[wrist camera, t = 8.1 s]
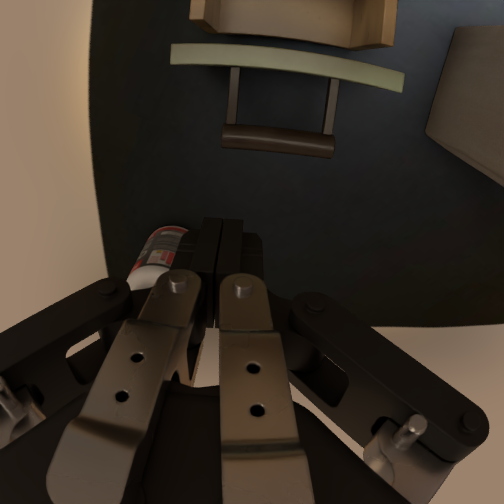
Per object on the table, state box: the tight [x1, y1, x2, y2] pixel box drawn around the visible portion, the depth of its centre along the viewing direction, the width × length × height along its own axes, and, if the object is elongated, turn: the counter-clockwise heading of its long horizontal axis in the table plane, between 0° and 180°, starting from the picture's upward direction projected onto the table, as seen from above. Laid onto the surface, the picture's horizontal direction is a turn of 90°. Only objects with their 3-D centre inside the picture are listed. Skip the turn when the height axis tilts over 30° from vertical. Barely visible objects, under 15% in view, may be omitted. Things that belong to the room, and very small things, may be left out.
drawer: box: [170, 0, 405, 159], centre depth 16 cm, size 19×13×8 cm, turn 175°
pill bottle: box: [127, 226, 188, 290], centre depth 27 cm, size 6×6×10 cm
